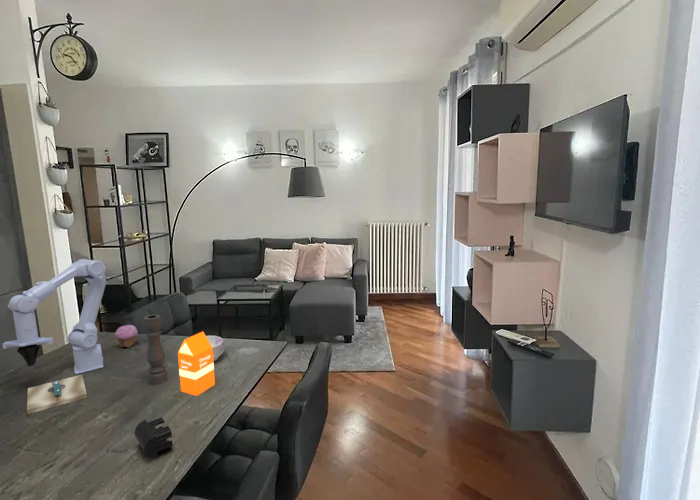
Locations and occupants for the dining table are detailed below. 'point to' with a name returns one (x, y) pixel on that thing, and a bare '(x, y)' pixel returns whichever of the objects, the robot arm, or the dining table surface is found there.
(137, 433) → the end cap
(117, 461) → the dining table surface
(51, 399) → the latch board
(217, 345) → the paper bowls
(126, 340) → the cupcake
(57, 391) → the teal rounded rod
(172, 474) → the dining table surface
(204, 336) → the orange juice
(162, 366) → the candle holder
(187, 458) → the dining table surface
